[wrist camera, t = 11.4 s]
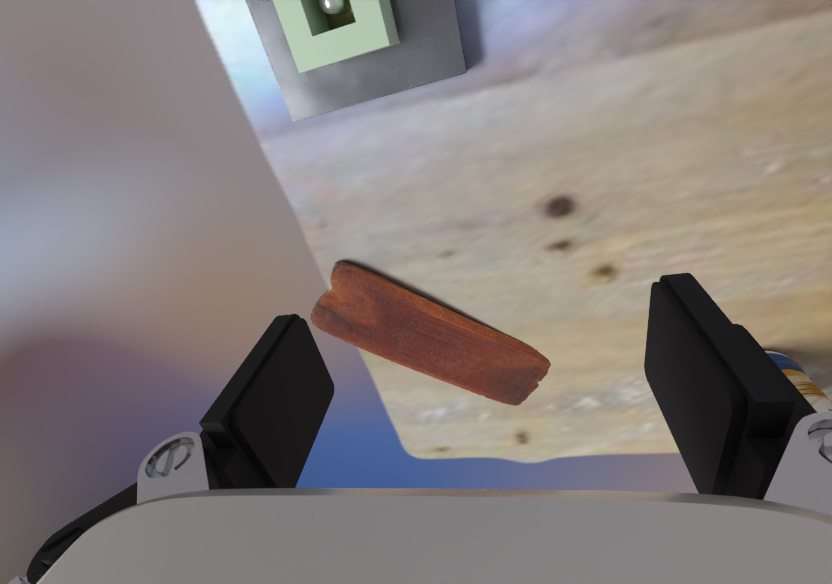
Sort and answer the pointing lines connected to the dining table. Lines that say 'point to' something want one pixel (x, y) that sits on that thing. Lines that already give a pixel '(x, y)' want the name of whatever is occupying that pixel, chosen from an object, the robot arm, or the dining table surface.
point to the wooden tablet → (426, 336)
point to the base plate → (365, 56)
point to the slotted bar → (335, 31)
